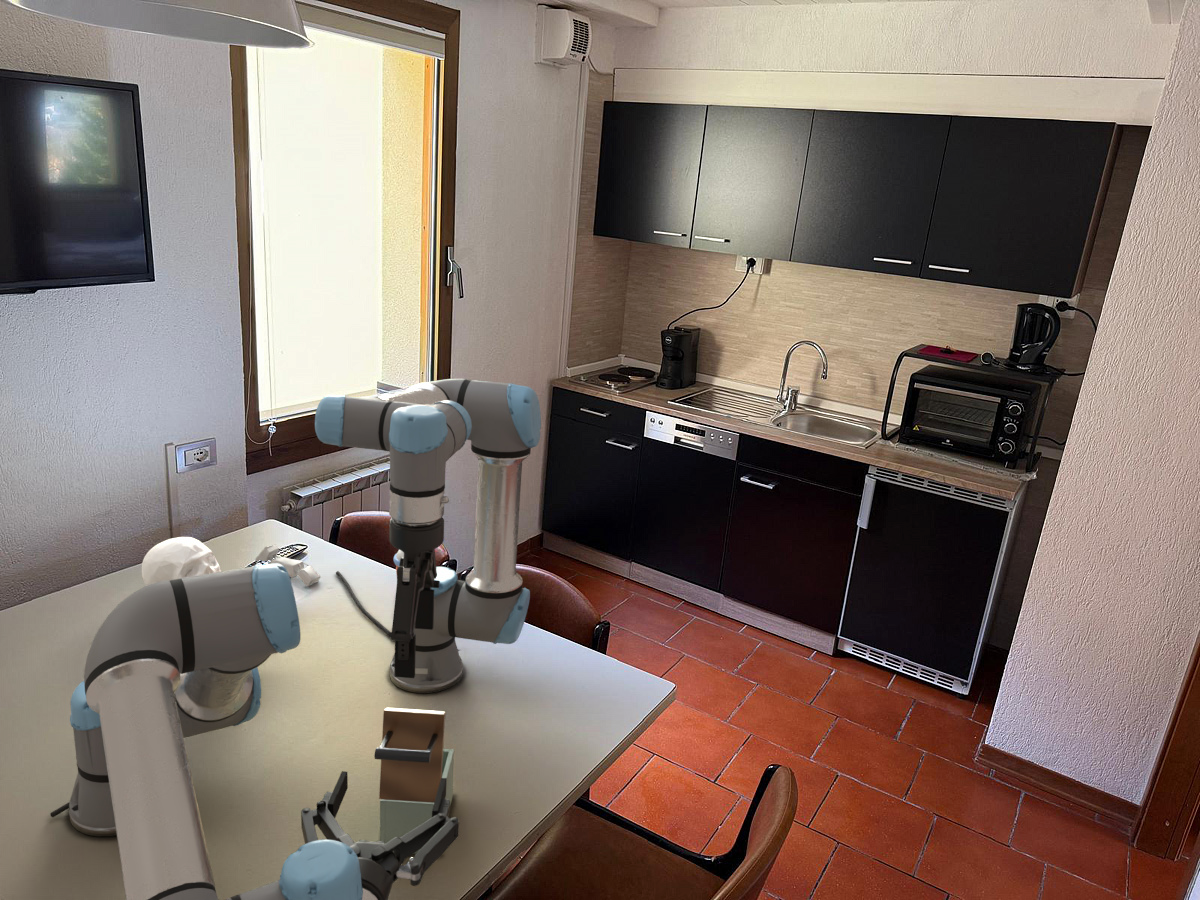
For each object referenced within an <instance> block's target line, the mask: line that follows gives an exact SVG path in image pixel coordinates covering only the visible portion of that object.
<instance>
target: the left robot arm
mask: <svg viewBox="0 0 1200 900" xmlns="http://www.w3.org/2000/svg"><path fill="white" fill-rule="evenodd" d="M298 612H299V611H298V606H297V601H296V596H295V591H294V588H293V584H292V580H291V576H289V574H288V571H287V569H286V568H285V567H284V566H283V565H281V564H278V563H273V564H270V563H268V564H265V565H262V564H257V563H256V564H254V565H252V566H246V567H241V568H235V569H229V570H223V571H222V570H221V572H216V573H210V574H204V575H198V576H192V577H186V578H180V579H175V580H166V581H160V582H156V583H153V584H150V585H147V586H146V585H145V586H143V587H141V588H139V589H137V590H135V591H133V592H132V593H131V594H129V595H128V596H127V597H125V598H124V599H123V600H122V601H120V602H119V603H118V604H117V605H116V607H114V609H113V610H112V611H111V612H110V613H109V614H108V615H107V616H106V618H105V620H104V621H103V622H102V624H101V625H100V626H99V628H98V630H97V631H96V634H95V636H94V638H93V639H92V642H91V645H90V647H89V650H88V651H87V656H86V660H85V665H84V670H83V681H81V682H80V683H79V684H78V685H77V686H76V687H75V689H74V691H73V692H72V695H71V696H70V716H69V723H70V726H71V728H72V730H73V738H74V740H73V741H74V749H75V758H76V759H75V760H76V766H77V774H76V778H75V782H74V784H73V787H72V788H73V789H72V792H71V794H70V799H69V802H67V803H65V804H63V805H61V806H60V807H58V808H56V809H54V810H53V811H52V812H50V817H51V818H54V817H56V816H58V815H60V814H61V813H62V812H65V811H66V810H68V814H69V821H70V824H71V825H72V827H73V828H74V829H75V830H77V831H78V832H80V833H82V834H85V835H88V836H94V837H113V836H116V839H117V845H118V852H119V853H118V854H119V860H120V866H121V874H122V880H123V887H124V893H125V900H219V898H218V897H219V896H218V894H217V890H216V883H215V878H214V875H213V870H212V866H211V860H210V855H209V850H208V847H207V846H208V845H207V841H206V836H205V831H204V827H203V822H202V818H201V813H200V808H199V804H198V799H197V795H196V790H195V789H196V788H195V785H194V780H193V775H192V771H191V766H190V761H189V757H188V751H187V747H186V743H185V739H186V738H189V737H193V736H197V735H202V734H205V733H209V732H214V731H218V730H221V729H225V728H229V727H236V726H239V725H242V724H243V723H245V722H248V721H251V720H252V719H254V718H255V717H256V716H257V714H258V713H259V711H260V708H261V699H262V682H261V675H260V672H259V667H260V666H261V665H263V664H264V662H266V661H267V660H268V659H269V658H270V657H271V655H274V654H277V653H278V654H284V653H286V652H287V651H290V650H293V649H296V648H297V647H298V646H299V645H300V643H301V625H300V618H299V613H298ZM348 780H349V778H348V771H347V770H346V771H345V770H344V771H343V770H342V771H341V772H340V775H339V777H338V779H337V782H336V784H335V786H334V789H333V790H332V791H326V792H325V793H324V794H323V797H322V799H321V800H319V801H317V802H316V808H315V809H311V808H310V807H303V808H302V809H301V810H300V818H301V819H300V821H301V830H302V831H301V832H302V835H303V840H304V844H302V845H300V846H299V847H298V849H297V850H295V851H294V852H293V853H290V854H289V855H288V856H287V857H286V859H285V860H284V862H283V864H282V867H281V871H280V875H279V879H277V880H275V881H272V882H270V883H267V884H264V885H261V886H259V887H256V888H253V889H250V890H248V891H244V892H241V893H239V894H235V895H232V896H231V897H229V898H225V899H224V900H388V899H389V898H390V893H391V890H392V887H393V884H394V883H395V882H396V881H397V880H398V879H405V880H410V881H409V883H410V885H411V886H413V887H417V886H419V885H420V884H421V882H422V879H423V877H424V874H425V873H426V872H427V870H428V869H429V868H430V867H432V865H433V864H434V863H435V862H436V861H437V860H438V859H439V858H440V857H441V856H442V854H443V853H445V851H447V849H449V848H450V846H451V845H452V844H453V843H454V842H455V841H456V840H457V839H458V838H459V830H460V829H459V828H460V827H459V826H460V820H459V818H458V817H455V816H453V817H451V818H450V817H449V816H450V811H451V805H450V800H449V799H445V797H446V780H447V778H441V780H440V784H439V787H438V791H437V795H436V799H435V802H434V806H433V810H432V818H431V819H429V820H428V821H426V822H424V823H423V824H421V825H420V826H418V827H416V828H415V829H413V830H412V831H410V832H408V833H407V834H405V835H404V836H402V837H400V838H399V837H395V838H394V839H392V840H390V841H389V842H387V843H386V844H385V843H384V841H380V840H375V841H371V840H367V839H358V841H356V842H354V839H352V837H351V835H350V834H349V833H346V832H345V830H344V829H343V828H342V827H341V825H340V824H339V822H338V821H337V819H336V817H337V814H338V812H339V810H340V808H341V805H342V802H343V800H344V798H345V795H346V794H347V791H348V788H349V787H348V786H349V785H348ZM316 826H317V827H318V828H319V830H320V831H321V833H322V835H323V836H324V837H325V839H323V838H322V839H319V837H318V834H317V830H316ZM418 850H419V851H418ZM393 851H394V853H393ZM417 851H418V852H417ZM415 852H417V854H413V853H415ZM412 855H414V857H412ZM410 856H411V857H410ZM409 857H410V858H409ZM406 859H408V861H407V862H406V863H405V861H406Z"/></svg>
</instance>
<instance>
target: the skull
mask: <svg viewBox="0 0 1200 900" xmlns="http://www.w3.org/2000/svg"><path fill="white" fill-rule="evenodd" d="M140 569H141V576H142V581H143V583H144V585H145V586H147V585H150V584H153V583H156V582H160V581H166V580H175V579H180V578H186V577H192V576H198V575H204V574H210V573H216V572H222V570H221V566H220V565H219V562H218V560H217V558H216V556H215V554H214V552H213V551H212V550H211V549H210V548H209V547H208V546H206V545H205V543H203V542H202V541H201V540H199V539H196V538H194V537H191V536H178V537H172V538H167V539H166V540H163V541H161V542H159V543H157V544H155V545H154V546H153V547H152V548H150V549H149V550H148V551H147V553H146V554H145V555H144V557H143V560H142V562H141V568H140Z"/></svg>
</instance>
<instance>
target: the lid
mask: <svg viewBox="0 0 1200 900" xmlns="http://www.w3.org/2000/svg"><path fill="white" fill-rule="evenodd" d="M382 715H383V718H382V733H381V734H382V737H381V743H380V745H379V746H377V747H376V748H375V750H374V760H379V761H380V772H379V774H380V777H379V791H378V792H379V795H378V799H379V800H381V799H385V800H401V801H416V802H431V803H434V802H435V799H436V795H437V791H438V787H439V784H440V780H441V778H442V764H443V749H444V745H445V728H446V711H444V710H429V709H417V708H416V709H414V708H402V707H401V708H399V707H386V706H385V708H384V709H383V714H382Z"/></svg>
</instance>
